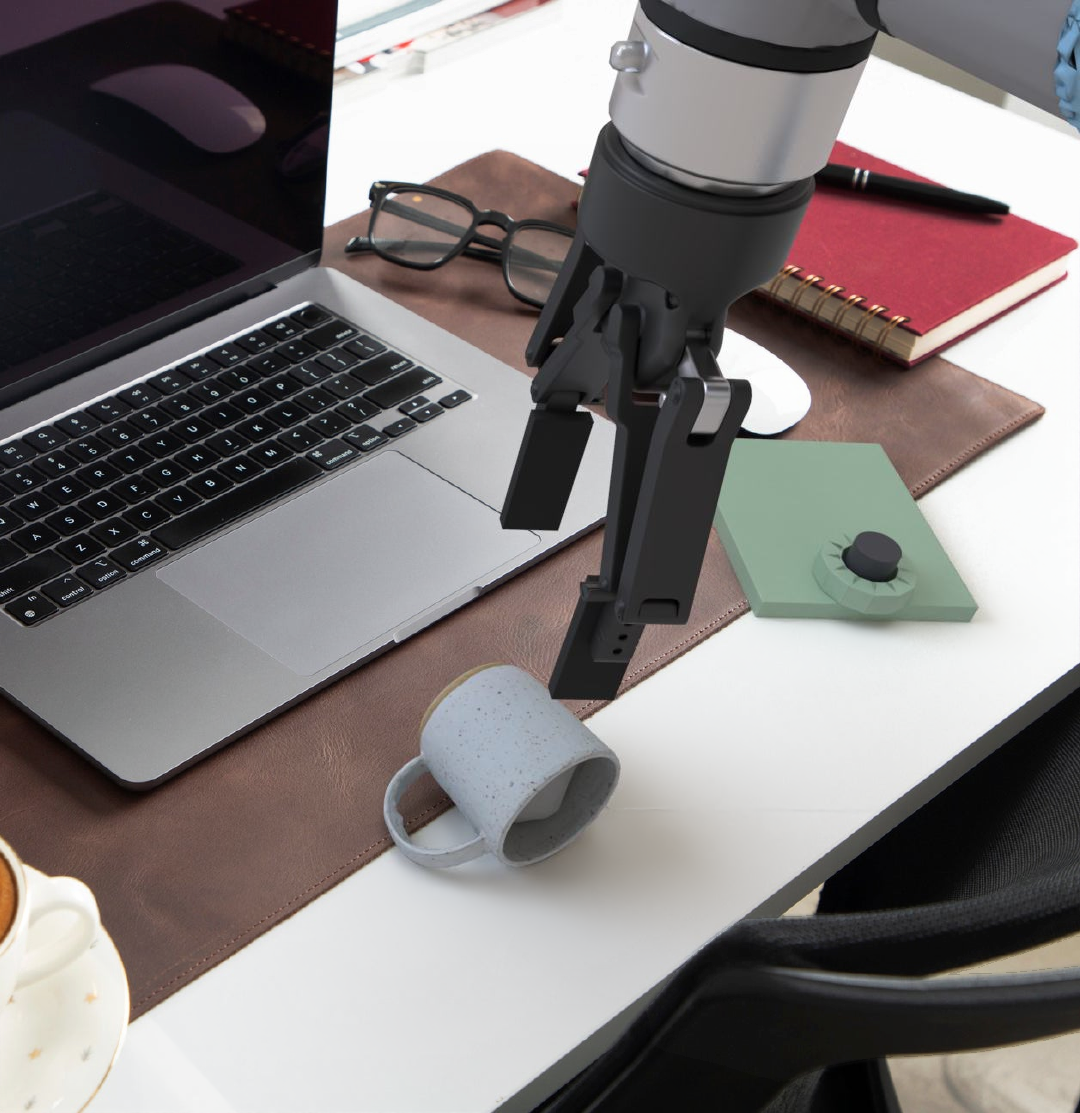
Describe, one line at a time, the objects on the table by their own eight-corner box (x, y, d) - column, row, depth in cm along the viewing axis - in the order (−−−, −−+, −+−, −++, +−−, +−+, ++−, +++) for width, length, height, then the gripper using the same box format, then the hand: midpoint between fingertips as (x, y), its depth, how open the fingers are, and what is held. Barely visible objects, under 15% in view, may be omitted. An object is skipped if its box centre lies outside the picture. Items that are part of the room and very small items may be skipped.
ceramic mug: (503, 723, 80) (533, 627, 75) (601, 831, 76) (641, 736, 70) (345, 796, 76) (366, 699, 71) (440, 916, 71) (469, 822, 66)
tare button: (898, 583, 88) (909, 563, 87) (854, 582, 88) (865, 561, 87) (880, 552, 90) (891, 531, 89) (837, 551, 90) (848, 530, 89)
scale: (975, 633, 90) (997, 598, 88) (759, 628, 88) (776, 593, 86) (872, 458, 102) (889, 424, 100) (680, 451, 100) (694, 417, 98)
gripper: (535, 2, 57) (430, 442, 73) (702, 327, 41) (522, 807, 56) (717, 15, 58) (576, 447, 73) (950, 339, 42) (708, 809, 57)
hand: (553, 604), depth 65 cm, fingers open, 10 cm apart
